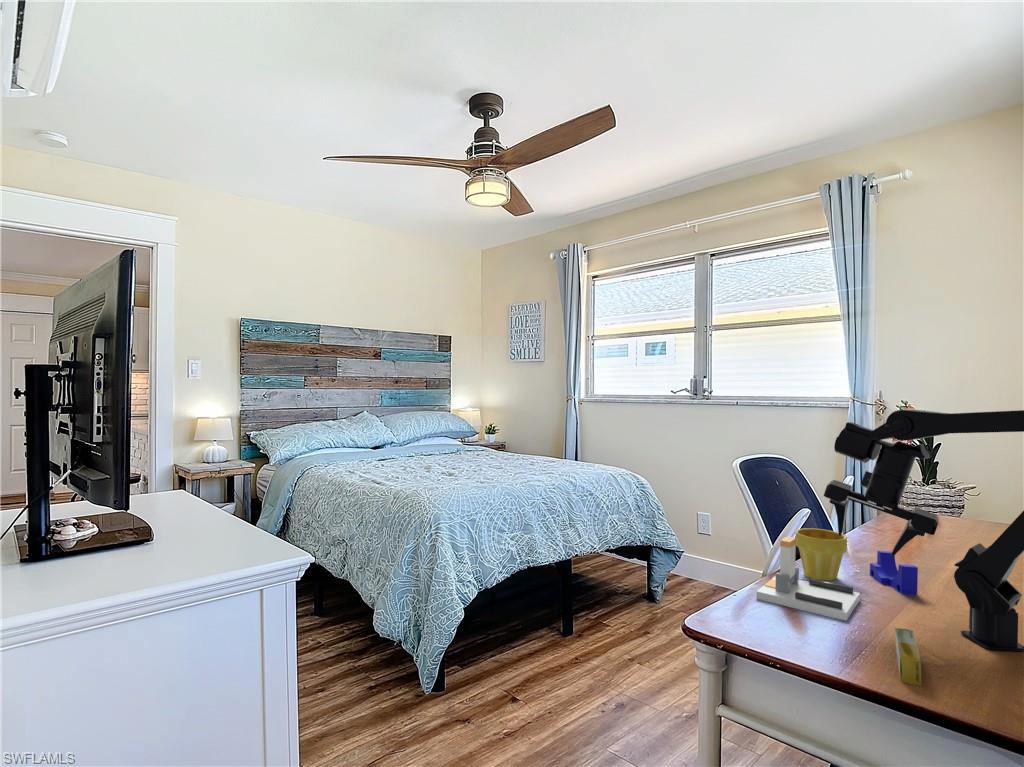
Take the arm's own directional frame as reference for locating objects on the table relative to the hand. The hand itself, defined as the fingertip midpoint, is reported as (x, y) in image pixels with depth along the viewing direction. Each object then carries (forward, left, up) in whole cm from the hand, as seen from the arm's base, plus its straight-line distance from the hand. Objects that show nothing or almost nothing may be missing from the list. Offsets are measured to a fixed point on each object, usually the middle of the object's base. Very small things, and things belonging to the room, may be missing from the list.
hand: (865, 545), depth 114 cm
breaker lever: (+5, +13, -9) cm, 17 cm away
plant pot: (+18, 0, -12) cm, 22 cm away
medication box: (-25, +8, -12) cm, 29 cm away
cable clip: (+14, -14, -12) cm, 23 cm away
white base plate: (+2, +10, -12) cm, 16 cm away
